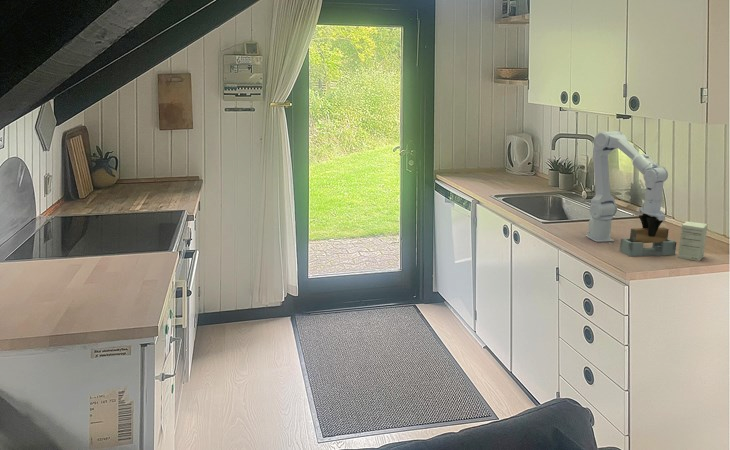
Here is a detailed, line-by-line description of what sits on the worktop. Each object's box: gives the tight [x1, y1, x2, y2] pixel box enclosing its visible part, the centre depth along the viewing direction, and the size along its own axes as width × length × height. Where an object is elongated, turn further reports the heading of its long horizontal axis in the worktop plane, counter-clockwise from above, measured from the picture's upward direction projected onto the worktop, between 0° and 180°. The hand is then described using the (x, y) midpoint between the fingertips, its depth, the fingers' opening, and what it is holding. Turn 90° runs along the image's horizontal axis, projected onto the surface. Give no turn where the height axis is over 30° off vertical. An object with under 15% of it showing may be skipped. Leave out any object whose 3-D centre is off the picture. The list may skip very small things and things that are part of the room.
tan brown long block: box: [629, 226, 670, 244], centre depth 230 cm, size 3×13×5 cm, turn 96°
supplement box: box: [678, 221, 709, 262], centre depth 225 cm, size 7×7×13 cm
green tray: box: [619, 237, 677, 257], centre depth 231 cm, size 7×18×5 cm, turn 96°
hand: (649, 235), depth 230 cm, fingers closed on tan brown long block, 3 cm apart
